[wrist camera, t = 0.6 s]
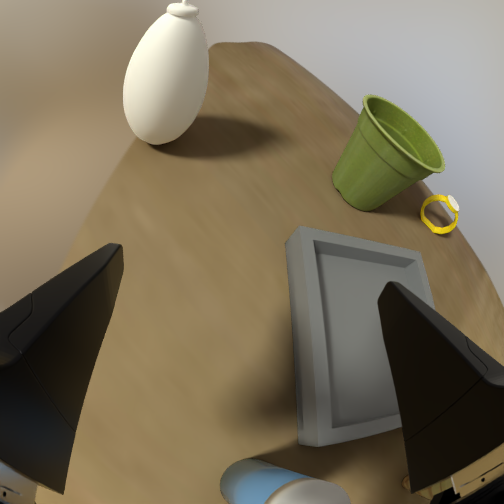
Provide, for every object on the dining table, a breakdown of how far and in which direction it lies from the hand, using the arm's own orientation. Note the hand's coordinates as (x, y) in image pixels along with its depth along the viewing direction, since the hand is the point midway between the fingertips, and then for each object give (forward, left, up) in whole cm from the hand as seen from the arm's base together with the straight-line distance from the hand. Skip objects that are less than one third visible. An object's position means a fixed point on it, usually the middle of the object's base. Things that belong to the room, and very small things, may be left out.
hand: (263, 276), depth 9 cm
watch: (+19, -33, -14) cm, 40 cm away
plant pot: (+21, -19, -14) cm, 31 cm away
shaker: (-10, -4, -14) cm, 18 cm away
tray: (+2, -16, -14) cm, 21 cm away
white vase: (+22, +6, -14) cm, 27 cm away
